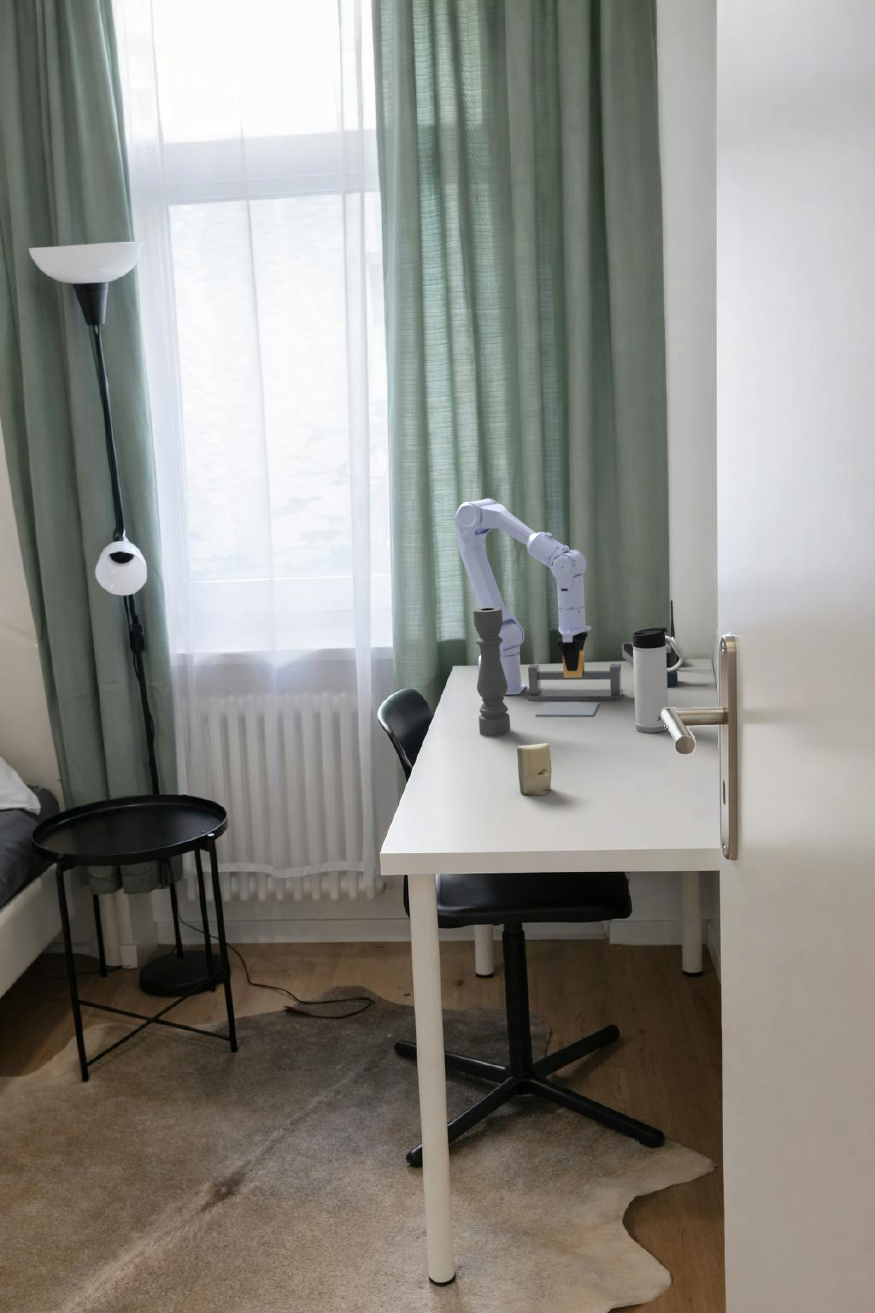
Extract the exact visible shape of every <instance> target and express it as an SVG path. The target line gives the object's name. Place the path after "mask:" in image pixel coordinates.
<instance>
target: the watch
mask: <svg viewBox="0 0 875 1313" xmlns="http://www.w3.org/2000/svg"><path fill="white" fill-rule="evenodd" d="M665 639H666V640H667V641H668V644H669V645H671V646H672V648H673V649H674V651H675V653H676V654H677V656H678V657H680V659H679V661H678V663H677V664H676V665H675V666H673V667H668V668H667V688H671V687H672V688H675V686H679V682H678V671H677V669H679V666H680V667H681V665H682V664H683V661H684V656H685V653H684V651H683V650H682V648H681V646H680V645H679V643H678V642H677V640H676V638H675V639H674V637H672V638H671V637H670V635H665Z"/></svg>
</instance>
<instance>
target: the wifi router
mask: <svg viewBox="0 0 875 1313" xmlns="http://www.w3.org/2000/svg"><path fill="white" fill-rule="evenodd" d="M673 601H674V600H672V599H671V600H670V625H669V626H670V628H669V631H670V632H669V637H671V638H672V637H674V639H675V640H676V632H675V630H676V629H675V624H674V602H673ZM633 642H634V641H628V642H627V641H626V642H622V643H621V648H622V649H621V651H622V654H621V655H622V658H623V659H624V660H625V661H627V663H629V664H630V665H631V666H632V667H633V668H634V661H633ZM665 642H666V662H667V668H671V667H673V666H675V665H676V664H677V663H678V661H679V659H680V657H678V656H677V654H676V653H675V651H674V649H673V648H672V646H671V645H670V643H669V642H667V641H665ZM679 667H681V665H680V666H679ZM679 667H678V668H679Z"/></svg>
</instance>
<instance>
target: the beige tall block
mask: <svg viewBox="0 0 875 1313" xmlns="http://www.w3.org/2000/svg"><path fill="white" fill-rule="evenodd" d="M550 748H551V745H550V744H549V743H547V742H544V743H538V744H537V743H535V744H527V745H519V746H517V748H516V752H517V772H518V784H519V791H520V793H521V794H522V795H524V796H526V795H534V796H536V795H537V796H538V795H539V796H540V795H545V794H546V793H548V792H551V791H552V790H551V787H552V786H551V785H552V783H551V782H552V771H553V770H552V759H551V749H550Z"/></svg>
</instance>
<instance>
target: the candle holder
mask: <svg viewBox="0 0 875 1313" xmlns="http://www.w3.org/2000/svg"><path fill="white" fill-rule="evenodd" d="M472 611H473V616H472V618H473V626H474V627H475V631H476V632H477V634H478V636H479V637H478V638H477V639H476V641H475V643H476V644H477V645H478V646H479V652H480V653H479V654H481V664H480V670H479V672H478V676H477V677H478V678H477V683H476V691H477V693H478V695H479V697H481V700H482V702H483V703H482V704H481V707H479V712H480V714H479V716H478V727H479V734H480V735H481V736H484V737H500V736H505V735H507V734H510V733H511V717H510V714H509V713H508V711H509V707H508V706H507V705H506V703H505V702H504V700H505V698H504V697H505V695H507V694H506V692H507V689H508V684H507V681H506V678H505V674H504V671H503V668H502V664H501V661H500V644H501V643H502V642H503V639H502V638H501V637H500V636H499V633H500V630H501V629H502V627H501V626H502V625H503V618H502V608H500V607H482V608H480V607H477V608H474V609H472Z"/></svg>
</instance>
